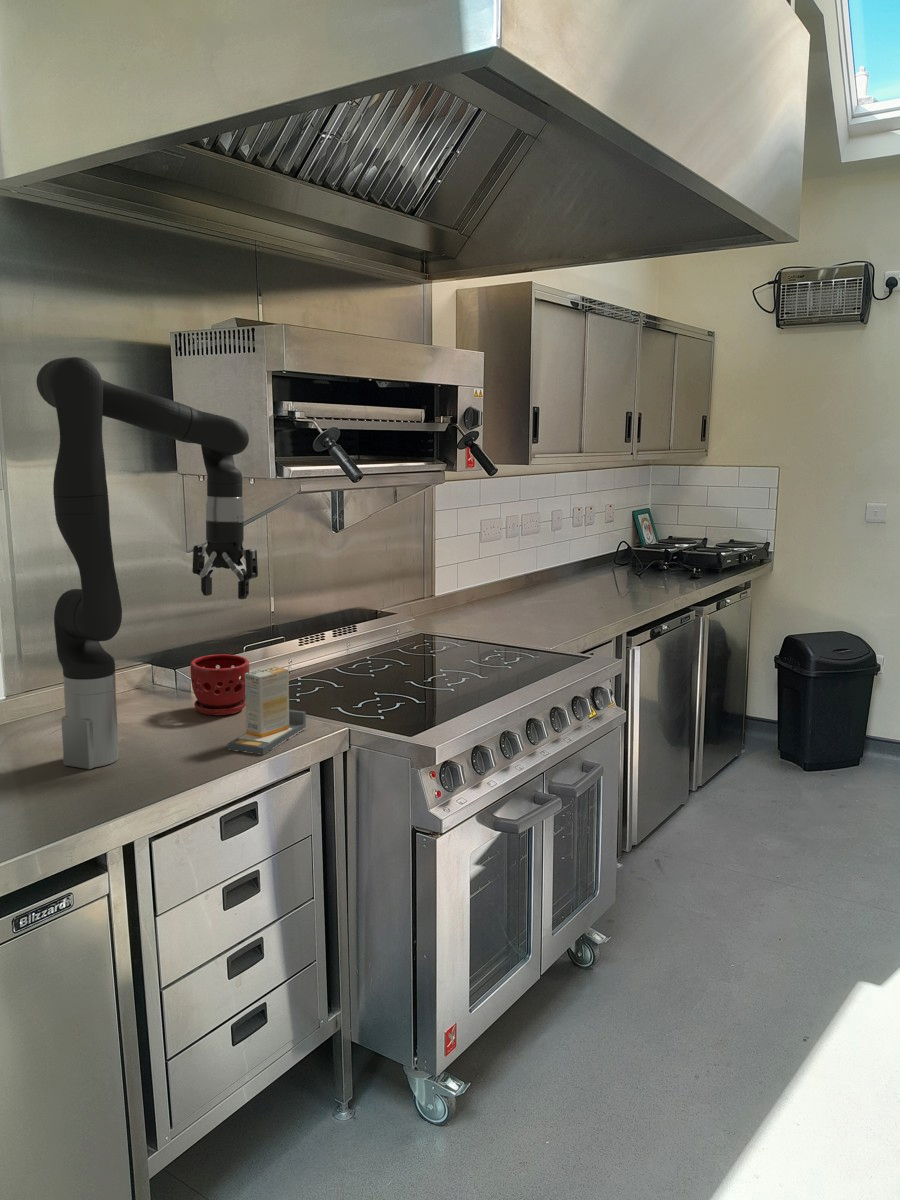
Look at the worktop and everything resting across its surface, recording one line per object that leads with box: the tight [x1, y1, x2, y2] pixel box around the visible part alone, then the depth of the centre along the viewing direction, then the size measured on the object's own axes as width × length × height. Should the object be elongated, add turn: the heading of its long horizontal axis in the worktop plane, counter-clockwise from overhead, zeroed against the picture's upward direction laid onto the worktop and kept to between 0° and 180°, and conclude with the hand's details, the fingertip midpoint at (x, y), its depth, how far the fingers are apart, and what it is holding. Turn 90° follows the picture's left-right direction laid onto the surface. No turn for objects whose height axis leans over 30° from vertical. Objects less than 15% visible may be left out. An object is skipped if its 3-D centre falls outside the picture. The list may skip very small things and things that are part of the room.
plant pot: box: [190, 653, 250, 716], centre depth 207 cm, size 13×13×12 cm
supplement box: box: [244, 665, 290, 738], centre depth 187 cm, size 8×5×13 cm, turn 144°
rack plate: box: [227, 709, 307, 755], centre depth 188 cm, size 18×8×4 cm, turn 161°
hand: (224, 597), depth 186 cm, fingers open, 8 cm apart
